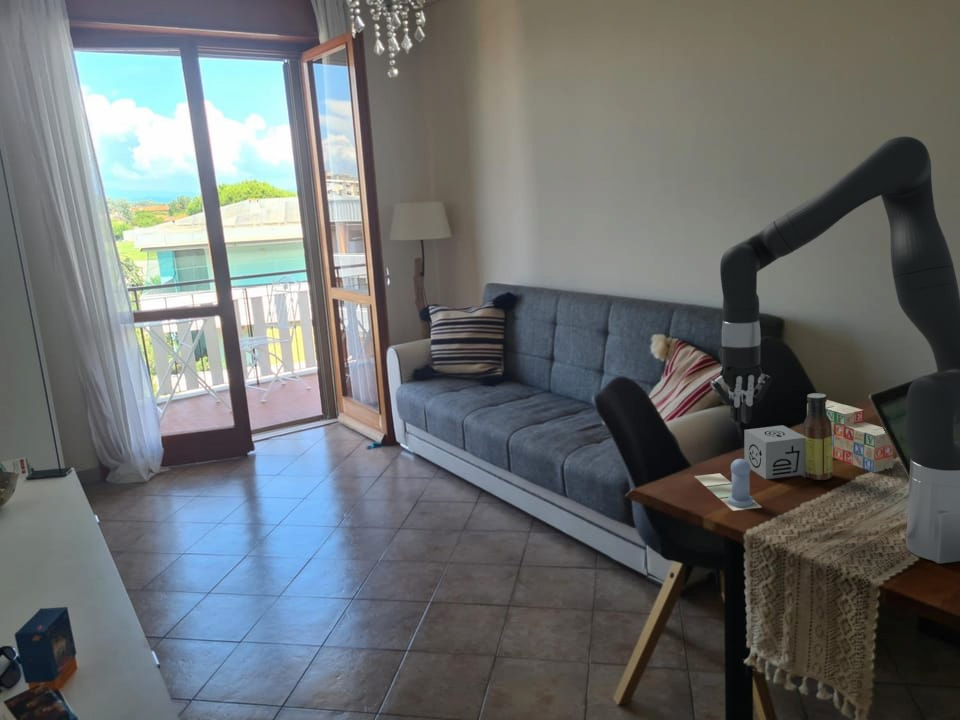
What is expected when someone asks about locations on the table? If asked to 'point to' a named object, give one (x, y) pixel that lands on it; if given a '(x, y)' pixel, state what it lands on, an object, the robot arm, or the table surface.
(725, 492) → the board
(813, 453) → the sauce bottle
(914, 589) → the table surface
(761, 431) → the icon cube
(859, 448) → the stack of blocks
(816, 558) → the table surface
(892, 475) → the table surface
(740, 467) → the pawn
